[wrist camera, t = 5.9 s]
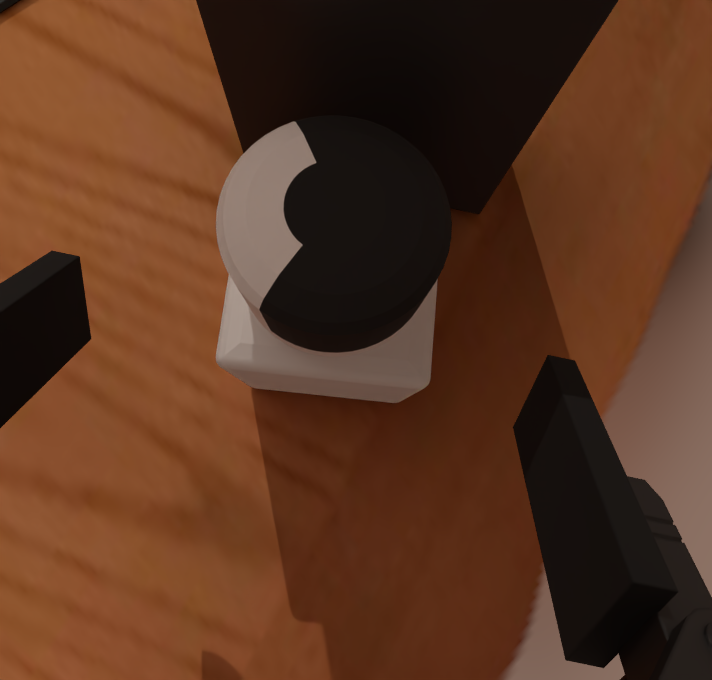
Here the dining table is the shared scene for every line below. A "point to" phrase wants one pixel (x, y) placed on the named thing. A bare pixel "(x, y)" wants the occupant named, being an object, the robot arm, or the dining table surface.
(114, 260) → the dining table surface
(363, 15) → the lidded grey box
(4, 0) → the mat
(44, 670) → the dining table surface
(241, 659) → the dining table surface
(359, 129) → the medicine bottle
